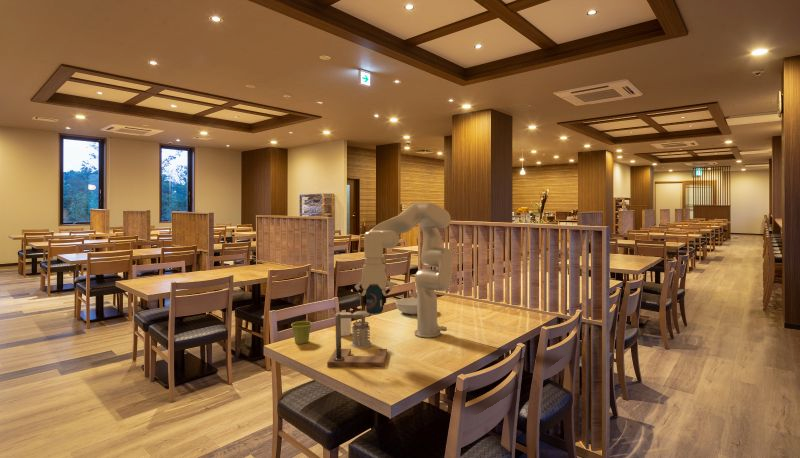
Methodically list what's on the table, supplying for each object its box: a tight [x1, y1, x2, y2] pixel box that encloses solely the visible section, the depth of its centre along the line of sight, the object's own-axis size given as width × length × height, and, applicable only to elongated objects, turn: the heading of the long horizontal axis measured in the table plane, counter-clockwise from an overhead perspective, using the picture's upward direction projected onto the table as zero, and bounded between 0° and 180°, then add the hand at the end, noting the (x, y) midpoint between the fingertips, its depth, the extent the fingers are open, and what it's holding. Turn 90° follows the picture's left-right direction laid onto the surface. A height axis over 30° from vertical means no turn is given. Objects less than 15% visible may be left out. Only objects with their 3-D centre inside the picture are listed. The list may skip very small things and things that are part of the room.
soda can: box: [365, 285, 384, 315], centre depth 177 cm, size 7×7×12 cm
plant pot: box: [290, 320, 313, 345], centre depth 201 cm, size 9×9×9 cm
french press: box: [350, 291, 373, 349], centre depth 194 cm, size 10×12×25 cm
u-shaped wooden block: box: [326, 348, 388, 368], centre depth 176 cm, size 22×16×2 cm
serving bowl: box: [395, 297, 417, 316], centre depth 253 cm, size 21×21×7 cm
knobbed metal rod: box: [334, 313, 366, 361], centre depth 171 cm, size 13×4×18 cm, turn 87°
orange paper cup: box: [335, 311, 352, 337], centre depth 212 cm, size 8×8×10 cm
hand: (374, 304), depth 178 cm, fingers closed on soda can, 6 cm apart
